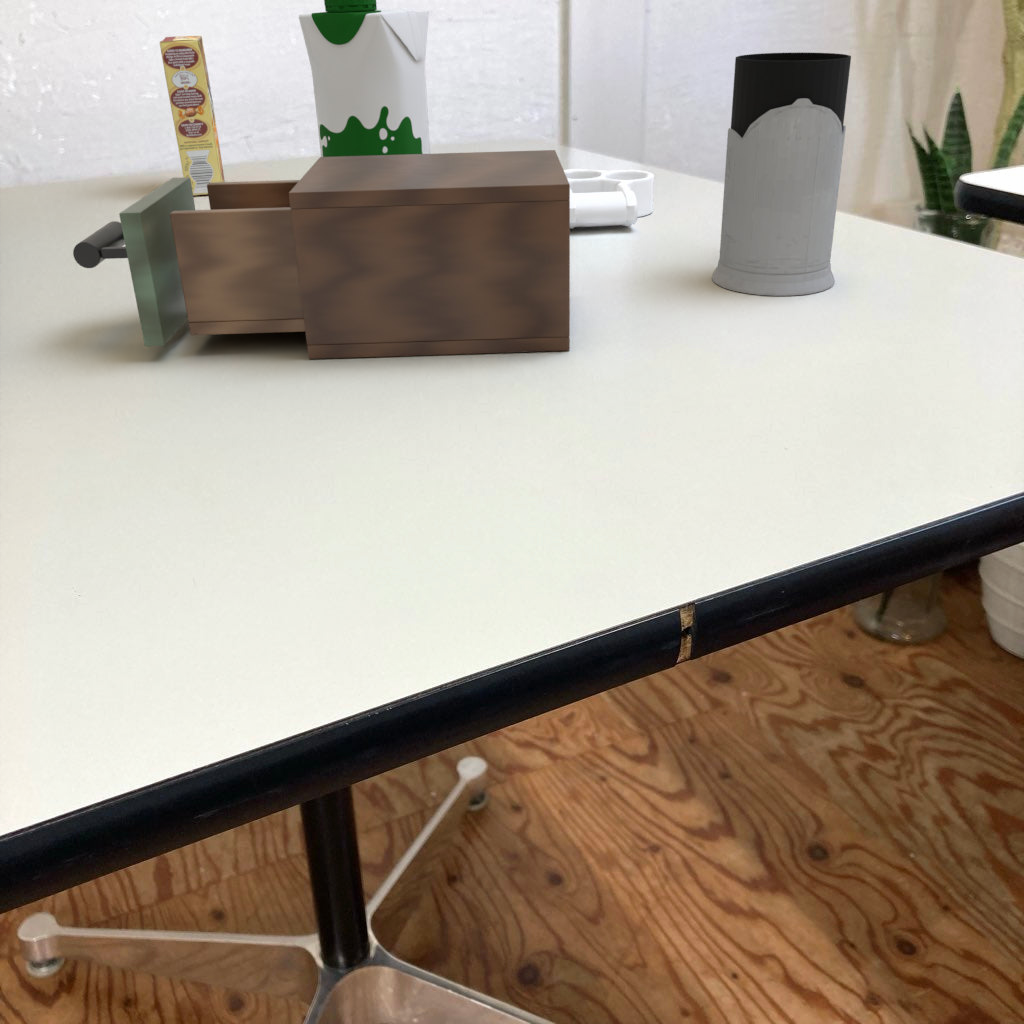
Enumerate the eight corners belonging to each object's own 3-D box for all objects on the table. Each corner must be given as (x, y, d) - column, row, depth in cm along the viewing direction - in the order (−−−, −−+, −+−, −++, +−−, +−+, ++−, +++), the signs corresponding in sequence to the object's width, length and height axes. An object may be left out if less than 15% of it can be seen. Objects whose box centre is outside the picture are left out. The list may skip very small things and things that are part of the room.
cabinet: (308, 359, 63) (288, 192, 58) (334, 300, 74) (319, 156, 70) (569, 351, 63) (569, 184, 59) (556, 293, 74) (555, 149, 70)
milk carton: (313, 245, 90) (283, -15, 80) (368, 223, 97) (347, -18, 88) (401, 253, 86) (381, -18, 77) (452, 230, 94) (439, -20, 84)
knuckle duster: (468, 239, 90) (461, 206, 103) (673, 230, 91) (640, 198, 104) (466, 199, 88) (459, 170, 101) (675, 191, 90) (641, 163, 103)
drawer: (74, 348, 63) (44, 215, 59) (132, 295, 73) (109, 179, 69) (386, 338, 63) (375, 205, 59) (399, 287, 73) (391, 171, 70)
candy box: (225, 194, 112) (201, 38, 105) (184, 197, 111) (158, 40, 104) (225, 180, 120) (203, 34, 112) (187, 183, 119) (163, 35, 112)
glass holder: (722, 297, 72) (739, 63, 66) (693, 249, 85) (704, 48, 78) (849, 294, 72) (878, 59, 65) (800, 246, 85) (821, 45, 78)
